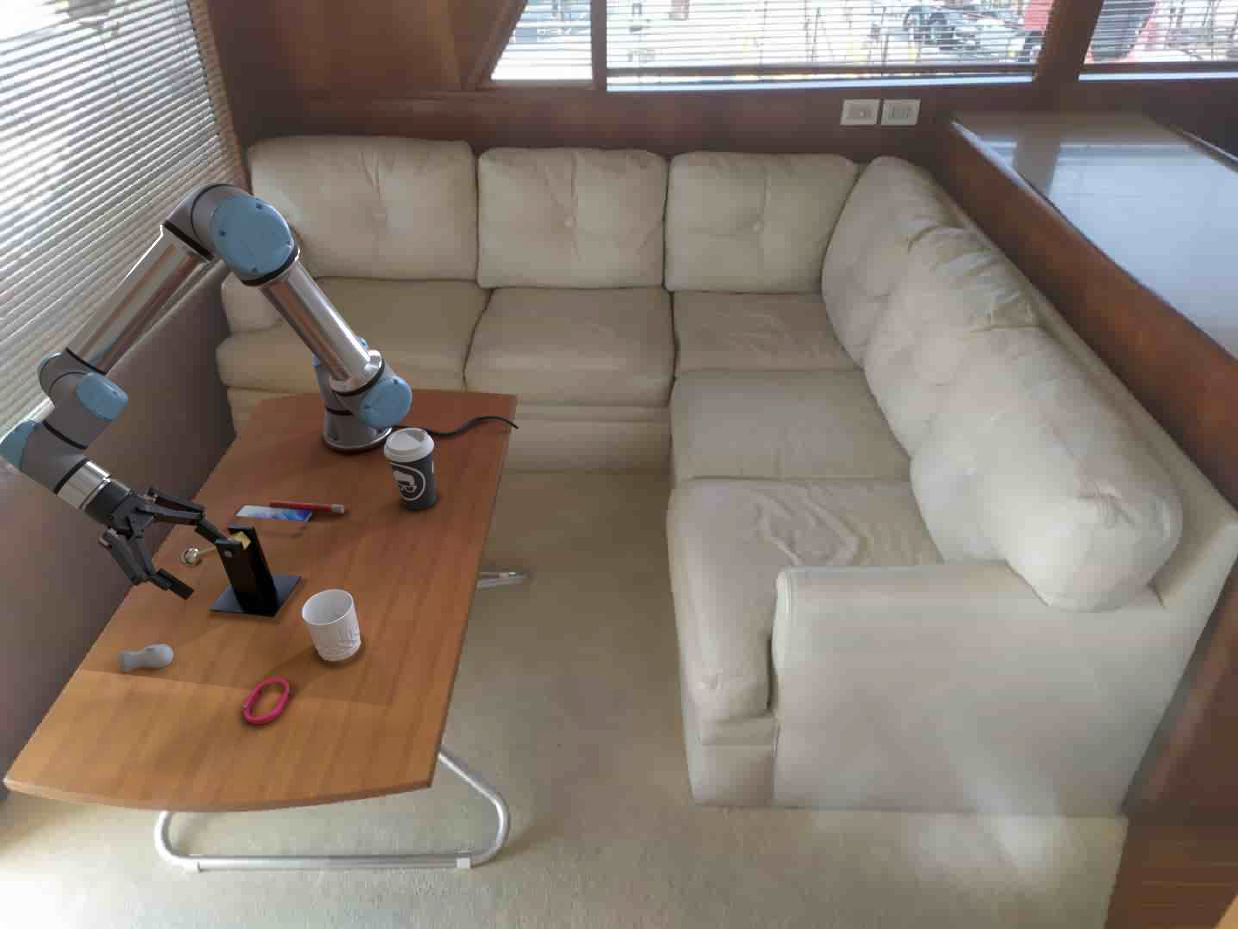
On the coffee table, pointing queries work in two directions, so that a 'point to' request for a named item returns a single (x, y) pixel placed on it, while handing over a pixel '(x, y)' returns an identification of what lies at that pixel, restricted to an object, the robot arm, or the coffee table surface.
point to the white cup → (332, 624)
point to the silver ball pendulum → (208, 551)
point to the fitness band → (255, 695)
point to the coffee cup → (412, 466)
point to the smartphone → (274, 513)
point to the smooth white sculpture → (146, 658)
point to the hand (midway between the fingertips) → (210, 570)
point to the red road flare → (308, 506)
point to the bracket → (250, 578)
